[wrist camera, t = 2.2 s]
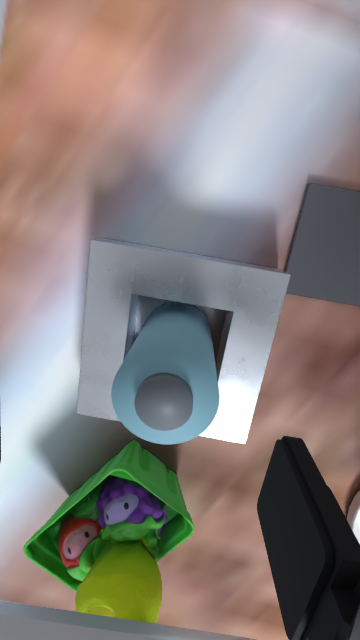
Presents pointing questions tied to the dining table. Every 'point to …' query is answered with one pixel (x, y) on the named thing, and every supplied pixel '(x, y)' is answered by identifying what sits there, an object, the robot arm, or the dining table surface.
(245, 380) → the frame
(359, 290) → the mat
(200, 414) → the blue cylinder
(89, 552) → the fruit basket
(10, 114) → the dining table surface
